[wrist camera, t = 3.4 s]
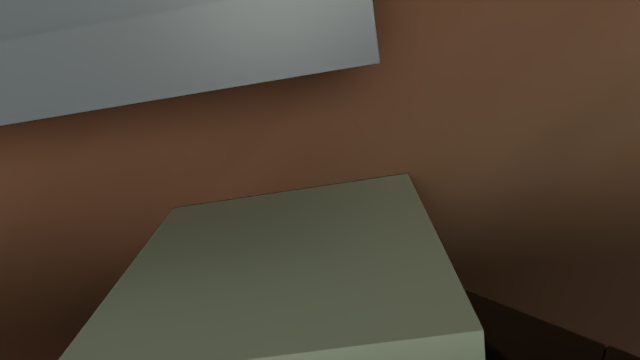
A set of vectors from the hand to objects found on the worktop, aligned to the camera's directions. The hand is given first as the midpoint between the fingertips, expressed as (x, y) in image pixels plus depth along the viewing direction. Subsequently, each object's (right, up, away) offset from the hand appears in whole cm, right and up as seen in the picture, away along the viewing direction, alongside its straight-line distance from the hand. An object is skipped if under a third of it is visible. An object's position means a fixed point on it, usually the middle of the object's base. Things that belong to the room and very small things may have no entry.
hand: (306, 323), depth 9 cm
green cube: (0, 0, +1) cm, 1 cm away
